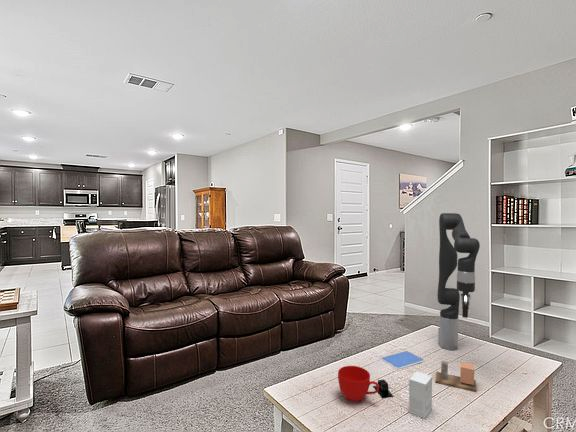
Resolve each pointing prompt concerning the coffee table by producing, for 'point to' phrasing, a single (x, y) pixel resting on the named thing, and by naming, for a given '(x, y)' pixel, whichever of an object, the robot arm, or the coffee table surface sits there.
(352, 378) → the ceramic cup
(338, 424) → the coffee table surface
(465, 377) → the salmon pink cube
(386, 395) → the black knobbed base
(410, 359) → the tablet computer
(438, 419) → the coffee table surface
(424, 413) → the small box
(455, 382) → the board
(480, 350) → the coffee table surface
